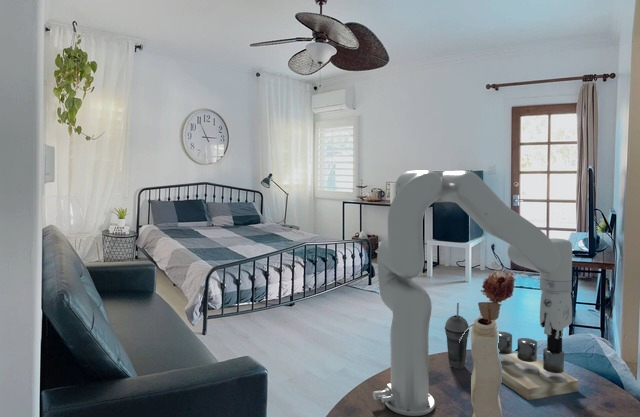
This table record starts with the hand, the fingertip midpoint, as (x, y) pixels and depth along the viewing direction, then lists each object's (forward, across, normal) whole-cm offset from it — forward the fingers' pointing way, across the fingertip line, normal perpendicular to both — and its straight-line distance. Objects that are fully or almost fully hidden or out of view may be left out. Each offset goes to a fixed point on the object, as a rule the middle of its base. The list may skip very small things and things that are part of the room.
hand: (554, 351), depth 118 cm
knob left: (+5, 0, +14) cm, 15 cm away
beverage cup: (+10, -7, +26) cm, 28 cm away
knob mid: (+5, 0, +7) cm, 9 cm away
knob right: (+6, 0, 0) cm, 6 cm away
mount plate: (+10, 0, +7) cm, 13 cm away
